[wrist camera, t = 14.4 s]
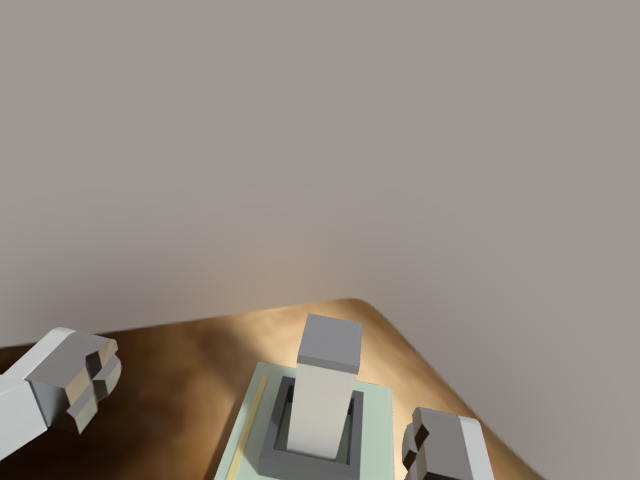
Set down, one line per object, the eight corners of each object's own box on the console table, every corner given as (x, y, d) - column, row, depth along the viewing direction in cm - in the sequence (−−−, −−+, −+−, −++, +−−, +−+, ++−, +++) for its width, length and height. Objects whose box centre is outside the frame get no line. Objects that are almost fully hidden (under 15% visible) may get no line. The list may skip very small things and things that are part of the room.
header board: (202, 518, 27) (200, 493, 25) (257, 367, 39) (259, 344, 37) (394, 562, 26) (405, 540, 24) (389, 394, 38) (397, 371, 36)
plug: (284, 457, 30) (297, 354, 24) (296, 408, 34) (309, 308, 28) (334, 468, 30) (359, 366, 24) (339, 417, 34) (362, 318, 28)
